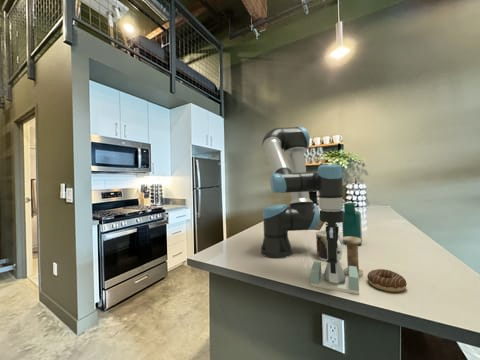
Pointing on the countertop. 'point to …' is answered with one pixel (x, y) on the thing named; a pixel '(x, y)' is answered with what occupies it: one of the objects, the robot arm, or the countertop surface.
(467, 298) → the countertop surface
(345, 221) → the green bottle
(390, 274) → the donut
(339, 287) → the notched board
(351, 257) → the bobbin
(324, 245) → the mug
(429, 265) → the countertop surface
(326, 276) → the flask
